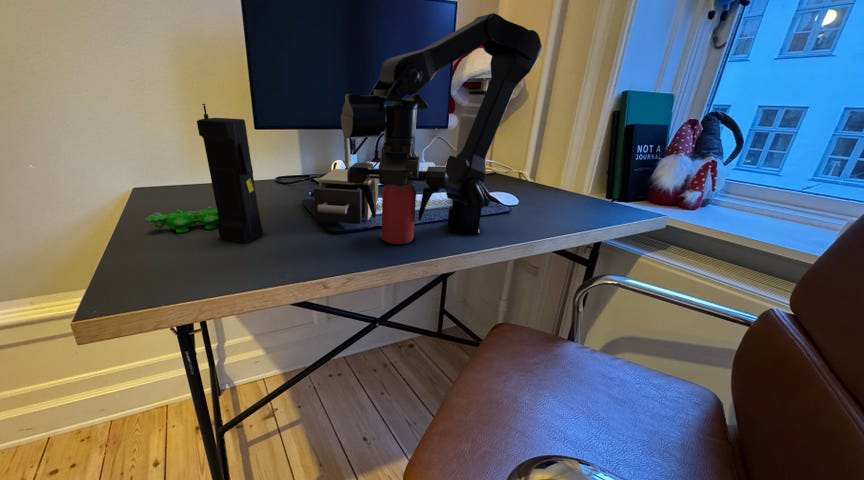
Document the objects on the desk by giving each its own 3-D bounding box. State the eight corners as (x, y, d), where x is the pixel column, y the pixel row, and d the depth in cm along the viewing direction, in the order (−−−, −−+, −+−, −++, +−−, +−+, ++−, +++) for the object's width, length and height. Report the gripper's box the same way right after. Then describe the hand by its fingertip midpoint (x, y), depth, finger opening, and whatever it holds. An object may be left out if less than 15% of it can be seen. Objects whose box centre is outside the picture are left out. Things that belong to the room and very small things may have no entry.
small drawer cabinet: (368, 220, 86) (367, 182, 82) (320, 217, 88) (318, 179, 84) (378, 205, 97) (378, 171, 93) (336, 202, 99) (334, 168, 95)
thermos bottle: (481, 207, 98) (498, 90, 85) (451, 205, 99) (463, 90, 86) (479, 199, 105) (494, 90, 92) (451, 197, 106) (462, 90, 93)
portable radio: (269, 234, 77) (252, 104, 66) (251, 244, 72) (229, 105, 61) (238, 229, 79) (216, 103, 68) (218, 239, 74) (191, 104, 63)
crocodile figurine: (150, 227, 80) (145, 208, 78) (238, 217, 87) (235, 199, 85) (147, 238, 74) (141, 217, 72) (241, 226, 81) (238, 207, 79)
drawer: (355, 230, 78) (355, 196, 74) (308, 227, 79) (306, 193, 76) (371, 209, 92) (371, 179, 88) (330, 206, 93) (329, 177, 90)
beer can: (414, 246, 73) (417, 186, 67) (381, 245, 73) (382, 185, 68) (412, 234, 79) (415, 178, 73) (382, 233, 79) (383, 177, 73)
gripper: (337, 139, 61) (340, 228, 68) (450, 144, 58) (442, 236, 65) (353, 132, 71) (355, 210, 78) (451, 136, 68) (444, 216, 75)
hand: (396, 218), depth 74 cm, fingers open, 9 cm apart
